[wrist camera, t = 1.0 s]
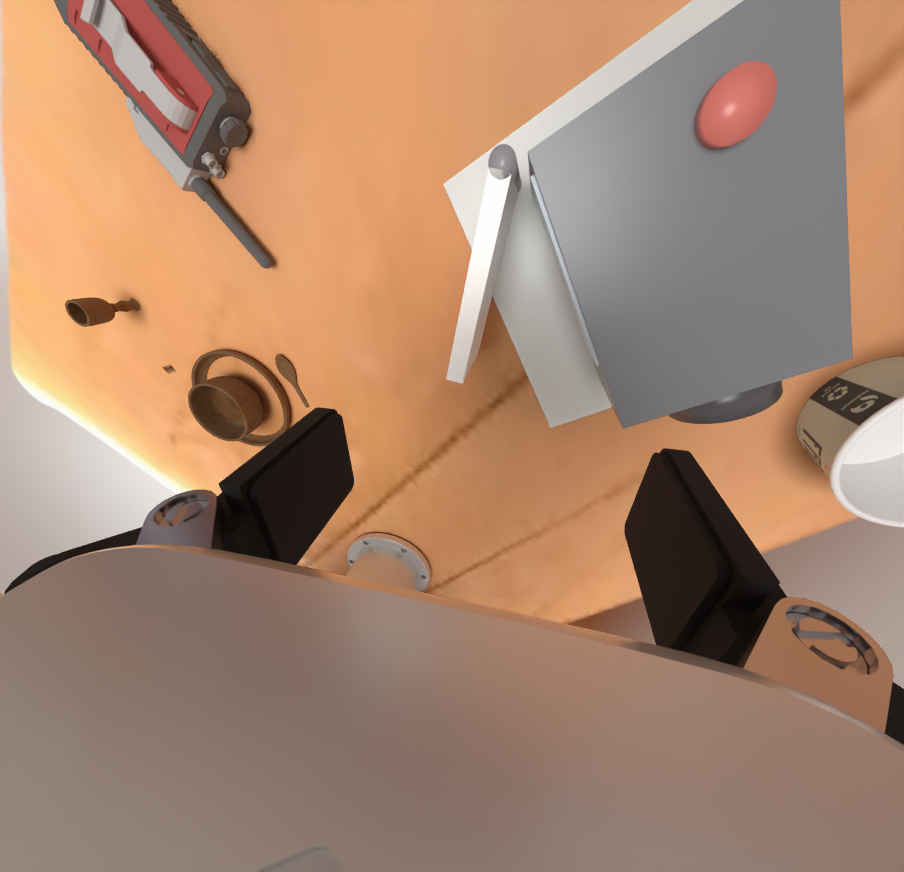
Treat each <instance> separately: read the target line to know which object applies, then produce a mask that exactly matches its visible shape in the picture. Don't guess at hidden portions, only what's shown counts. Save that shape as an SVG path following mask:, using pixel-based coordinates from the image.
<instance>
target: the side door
mask: <svg viewBox="0 0 904 872" xmlns="http://www.w3.org/2000/svg"><path fill="white" fill-rule="evenodd" d="M488 167H489V170H488V175H487V180H486V185H485V189H484V194H483V199H482V204H481V209H480V214H479V219H478V224H477V229H476V234H475V239H474V244H473V249H472V254H471V259H470V264H469V269H468V273H467V278H466V283H465V288H464V293H463V298H462V303H461V308H460V313H459V318H458V323H457V328H456V333H455V338H454V343H453V348H452V353H451V357H450V362H449V367H448V372H447V377H446V379H447V380H450V381H454V382H457V383H461V384H463V382H464V380H465V378H466V376H467V374H468V372H469V370H470V368H471V366H472V364H473V363H474V361H475V359H476V357H477V355H478V352H479V348H480V344H481V340H482V336H483V332H484V328H485V324H486V320H487V316H488V312H489V308H490V304H491V300H492V296H493V292H494V288H495V284H496V280H497V276H498V272H499V268H500V264H501V260H502V256H503V252H504V248H505V244H506V239H507V235H508V231H509V227H510V223H511V219H512V215H513V211H514V207H515V203H516V199H517V195H518V192H519V191H520V189H521V177H520V172H519V168H518V163H517V159H516V154H515V151H514V150H513V148H512V147H511V146H509V145H507V144H500V145H498V146H496V147H495V148H494V149H493V150H492V152H491V154H490V156H489V160H488Z"/></svg>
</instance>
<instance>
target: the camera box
mask: <svg viewBox="0 0 904 872" xmlns="http://www.w3.org/2000/svg"><path fill="white" fill-rule="evenodd" d="M500 144H507V145H509V146H511V147H512V148H513V150H514V151H515V154H516V159H517V163H518V168H519V172H520V177H521V189H520V191H519V192H518V195H517V199H516V203H515V207H514V211H513V215H512V219H511V223H510V227H509V231H508V235H507V239H506V244H505V248H504V252H503V256H502V260H501V264H500V268H499V272H498V276H497V280H496V284H495V288H494V292H493V299H494V301H495V303H496V305H497V308H498V310H499V312H500V314H501V317H502V319H503V321H504V324H505V326H506V328H507V330H508V333H509V335H510V337H511V340H512V342H513V344H514V346H515V349H516V351H517V353H518V355H519V358H520V360H521V362H522V365H523V367H524V369H525V371H526V374H527V376H528V378H529V380H530V383H531V385H532V387H533V390H534V392H535V394H536V396H537V399H538V401H539V403H540V406H541V408H542V410H543V412H544V415H545V417H546V419H547V421H548V424H549V426H550V428H553V427H556V426H559V425H562V424H565V423H568V422H571V421H574V420H577V419H580V418H583V417H586V416H589V415H592V414H595V413H598V412H601V411H604V410H607V409H610V408H613V409H614V411H615V413H616V415H617V417H618V420H619V422H620V424H621V426H622V428H626V427H630V426H633V425H636V424H639V423H643V422H646V421H649V420H653V419H656V418H659V417H662V416H666V415H669V416H670V417H672V418H673V419H676V420H678V421H681V422H686V423H694V424H712V423H722V422H728V421H734V420H738V419H742V418H745V417H748V416H751V415H754V414H756V413H759V412H761V411H763V410H765V409H767V408H768V407H770V406H772V405H773V404H774V403H775V402H776V401H777V400H778V399H779V398H780V397H781V395H782V392H783V389H782V380H784V379H787V378H790V377H793V376H797V375H800V374H803V373H806V372H810V371H813V370H816V369H820V368H823V367H826V366H829V365H833V364H836V363H839V362H842V361H846V360H849V359H852V330H851V302H850V273H849V244H848V216H847V187H846V159H845V130H844V102H843V73H842V44H841V16H840V0H692V1H691V2H690V3H688V4H687V5H686V6H684V7H683V8H682V9H680V10H679V11H677V12H676V13H675V14H673V15H672V16H671V17H669V18H668V19H667V20H665V21H664V22H663V23H661V24H660V25H658V26H657V27H656V28H654V29H653V30H652V31H650V32H649V33H648V34H646V35H645V36H644V37H642V38H641V39H639V40H638V41H637V42H635V43H634V44H633V45H631V46H630V47H629V48H627V49H626V50H625V51H623V52H622V53H620V54H619V55H618V56H616V57H615V58H614V59H612V60H611V61H610V62H608V63H607V64H606V65H604V66H603V67H602V68H600V69H599V70H597V71H596V72H595V73H593V74H592V75H591V76H589V77H588V78H587V79H585V80H584V81H583V82H581V83H580V84H578V85H577V86H576V87H574V88H573V89H572V90H570V91H569V92H568V93H566V94H565V95H564V96H562V97H561V98H559V99H558V100H557V101H555V102H554V103H553V104H551V105H550V106H549V107H547V108H546V109H545V110H543V111H542V112H540V113H539V114H538V115H536V116H535V117H534V118H532V119H531V120H530V121H528V122H527V123H526V124H524V125H523V126H521V127H520V128H519V129H517V130H516V131H515V132H513V133H512V134H511V135H509V136H508V137H507V138H505V139H504V140H502V141H501V142H500V143H498V144H497V145H496V146H498V145H500ZM496 146H494V147H493V148H492V149H490V150H489V151H488V152H486V153H485V154H483V155H482V156H481V157H479V158H478V159H477V160H475V161H474V162H473V163H471V164H470V165H469V166H467V167H466V168H464V169H463V170H462V171H460V172H459V173H458V174H456V175H455V176H454V177H452V178H451V179H450V180H448V181H447V182H445V183H444V184H443V185H444V187H445V189H446V192H447V194H448V196H449V198H450V201H451V203H452V205H453V208H454V210H455V212H456V214H457V217H458V219H459V221H460V223H461V226H462V228H463V230H464V233H465V235H466V237H467V239H468V242H469V244H470V246H471V249H473V244H474V239H475V234H476V229H477V224H478V219H479V214H480V209H481V204H482V199H483V194H484V189H485V185H486V180H487V175H488V170H489V167H488V160H489V156H490V154H491V152H492V150H493V149H494V148H495V147H496Z"/></svg>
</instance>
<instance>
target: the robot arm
mask: <svg viewBox="0 0 904 872" xmlns="http://www.w3.org/2000/svg"><path fill="white" fill-rule="evenodd" d="M353 485H354V477H353V471H352V466H351V461H350V456H349V450H348V445H347V440H346V434H345V429H344V424H343V419H342V416H341V415H340V414H338V413H337V411H336V410H334V409H327V408H315V409H314V410H312V411H311V412H310V413H309V414H307V415H306V416H305V417H303V418H302V419H301V420H300V421H298V422H297V423H296V424H294V425H293V426H292V427H291V428H289V429H288V430H287V431H285V432H284V433H283V434H282V435H280V436H279V437H278V438H277V439H275V440H274V441H273V442H271V443H270V444H269V445H268V446H266V447H265V448H264V449H262V450H261V451H260V452H259V453H257V454H256V455H255V456H253V457H252V458H251V459H250V460H248V461H247V462H246V463H244V464H243V465H242V466H241V467H239V468H238V469H237V470H235V471H234V472H233V473H232V474H230V475H229V476H228V477H226V478H225V479H224V480H223V481H221V482H220V483H219V486H220V488H221V490H222V493H221V494H220V495H219V496H216V494H214V493H213V492H212V491H209V490H192V491H186V492H183V493H180V494H177V495H175V496H173V497H170V498H168V499H166V500H164V501H163V502H161V503H160V504H158V505H157V506H156V507H155V508H153V509H152V510H151V511H150V512H149V514H148V515H147V517H146V519H145V522H144V524H143V527H141V528H138V529H135V530H132V531H128V532H125V533H122V534H119V535H116V536H112V537H109V538H106V539H103V540H100V541H96V542H93V543H90V544H87V545H84V546H81V547H77V548H74V549H71V550H68V551H65V552H62V553H59V554H56V555H52V556H49V557H47V558H44V559H42V560H40V561H38V562H37V563H35V564H33V565H32V566H31V567H29V568H28V569H27V570H26V571H25V572H23V573H22V574H21V575H20V576H18V577H17V578H16V579H15V580H14V581H13V582H12V583H11V584H10V585H9V587H8V588H7V589H6V591H5V593H4V595H2V594H1V593H0V872H904V689H903V688H901V687H900V686H898V685H897V684H895V683H894V682H893V670H892V664H891V662H890V660H889V659H888V657H887V655H886V654H885V652H884V650H883V649H882V648H881V647H880V646H879V645H878V644H877V642H876V641H875V640H874V639H873V638H872V637H871V636H870V635H869V634H868V633H866V632H865V631H864V630H863V629H862V628H860V627H859V626H858V625H856V624H855V623H854V622H853V621H851V620H849V619H848V618H846V617H845V616H843V615H842V614H840V613H839V612H837V611H835V610H833V609H831V608H829V607H827V606H824V605H822V604H820V603H817V602H814V601H811V600H808V599H805V598H796V597H788V598H787V596H786V595H785V593H784V592H783V590H782V589H781V588H780V586H779V583H780V582H779V580H778V579H777V577H776V576H775V574H774V573H773V571H772V570H771V569H770V567H769V566H768V564H767V563H766V561H765V560H764V558H763V557H762V556H761V554H760V553H759V551H758V550H757V548H756V547H755V545H754V544H753V542H752V541H751V540H750V538H749V537H748V535H747V534H746V532H745V531H744V529H743V528H742V527H741V525H740V524H739V522H738V521H737V519H736V518H735V516H734V515H733V513H732V512H731V511H730V509H729V508H728V506H727V505H726V503H725V502H724V500H723V499H722V498H721V496H720V495H719V493H718V492H717V490H716V489H715V487H714V486H713V485H712V483H711V482H710V480H709V479H708V477H707V476H706V474H705V473H704V471H703V470H702V469H701V467H700V466H699V464H698V463H697V461H696V460H695V458H694V457H693V456H692V454H691V453H690V452H689V451H683V450H675V449H666V448H664V449H662V450H661V452H660V453H654V454H653V455H652V457H651V460H650V462H649V465H648V467H647V470H646V472H645V475H644V477H643V480H642V482H641V485H640V487H639V490H638V492H637V495H636V497H635V500H634V502H633V505H632V507H631V510H630V512H629V515H628V517H627V520H626V523H625V537H626V540H627V544H628V547H629V551H630V554H631V558H632V561H633V565H634V568H635V572H636V575H637V579H638V582H639V586H640V589H641V593H642V596H643V600H644V604H645V607H646V611H647V614H648V617H649V621H650V624H651V628H652V632H653V635H654V638H655V642H656V645H653V644H649V643H645V642H640V641H637V640H633V639H628V638H624V637H620V636H616V635H612V634H608V633H603V632H599V631H594V630H590V629H585V628H581V627H576V626H572V625H567V624H563V623H559V622H554V621H550V620H545V619H541V618H536V617H532V616H527V615H523V614H518V613H514V612H509V611H505V610H501V609H496V608H492V607H487V606H483V605H478V604H473V603H469V602H464V601H460V600H455V599H451V598H446V597H442V596H437V595H432V594H428V593H423V592H422V591H423V590H424V589H425V588H426V587H427V585H428V583H429V580H430V575H431V570H430V566H429V564H428V562H427V560H426V558H425V557H424V556H423V554H422V553H421V552H420V551H419V550H418V549H417V548H416V547H414V546H413V545H411V544H410V543H408V542H407V541H405V540H403V539H401V538H398V537H396V536H392V535H388V534H382V533H370V534H365V535H362V536H360V537H358V538H357V539H355V540H354V541H353V543H352V544H351V546H350V548H349V550H348V553H347V561H348V564H349V566H350V570H349V571H348V573H347V575H346V576H345V575H340V574H335V573H331V572H326V571H321V570H317V569H312V568H307V567H302V566H298V565H297V563H298V562H299V561H300V559H301V558H302V557H303V555H304V554H305V552H306V551H307V550H308V548H309V547H310V546H311V544H312V543H313V542H314V540H315V539H316V537H317V536H318V535H319V533H320V532H321V531H322V529H323V528H324V527H325V525H326V524H327V522H328V521H329V520H330V518H331V517H332V516H333V514H334V513H335V512H336V510H337V509H338V507H339V506H340V505H341V503H342V502H343V501H344V499H345V498H346V497H347V495H348V494H349V492H350V491H351V490H352V488H353Z"/></svg>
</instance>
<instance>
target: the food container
mask: <svg viewBox="0 0 904 872" xmlns="http://www.w3.org/2000/svg"><path fill="white" fill-rule="evenodd" d="M796 432H797V437H798V440H799V442H800V443H801V445H802V446H803V447H804V449H805V450H806V451H807V452H808V454H809V455H810V456H811V457H812V459H813V460H814V461H815V463H816V464H817V465H818V466H819V468H820V469H821V470H822V471H823V473H824V474H825V475H826V476H827V478H828V479H829V480H830V486H831V489H832V492H833V494H834V496H835V498H836V499H837V500H838V502H839V503H840V504H841V505H842V506H843V507H844V508H845V509H847V510H848V511H850V512H851V513H853V514H855V515H856V516H858V517H861V518H863V519H865V520H869V521H871V522H875V523H879V524H883V525H890V526H897V527H904V356H899V357H890V358H884V359H879V360H875V361H871V362H868V363H865V364H862V365H859V366H857V367H854V368H852V369H850V370H848V371H846V372H844V373H842V374H840V375H838V376H836V377H835V378H833V379H832V380H830V381H829V382H827V383H826V384H825V385H823V386H822V387H821V388H820V389H818V390H817V391H816V392H815V393H814V394H813V395H812V396H811V397H810V399H809V400H808V401H807V402H806V404H805V405H804V407H803V408H802V410H801V412H800V414H799V417H798V420H797V425H796Z"/></svg>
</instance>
